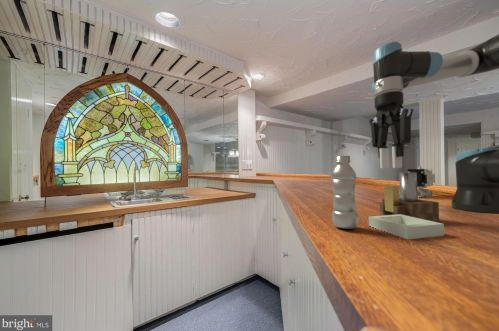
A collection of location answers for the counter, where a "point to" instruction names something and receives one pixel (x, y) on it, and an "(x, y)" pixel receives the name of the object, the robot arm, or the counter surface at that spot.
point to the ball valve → (423, 181)
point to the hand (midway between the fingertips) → (390, 167)
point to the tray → (407, 226)
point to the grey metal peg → (408, 187)
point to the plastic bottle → (344, 194)
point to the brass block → (391, 197)
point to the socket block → (414, 210)
